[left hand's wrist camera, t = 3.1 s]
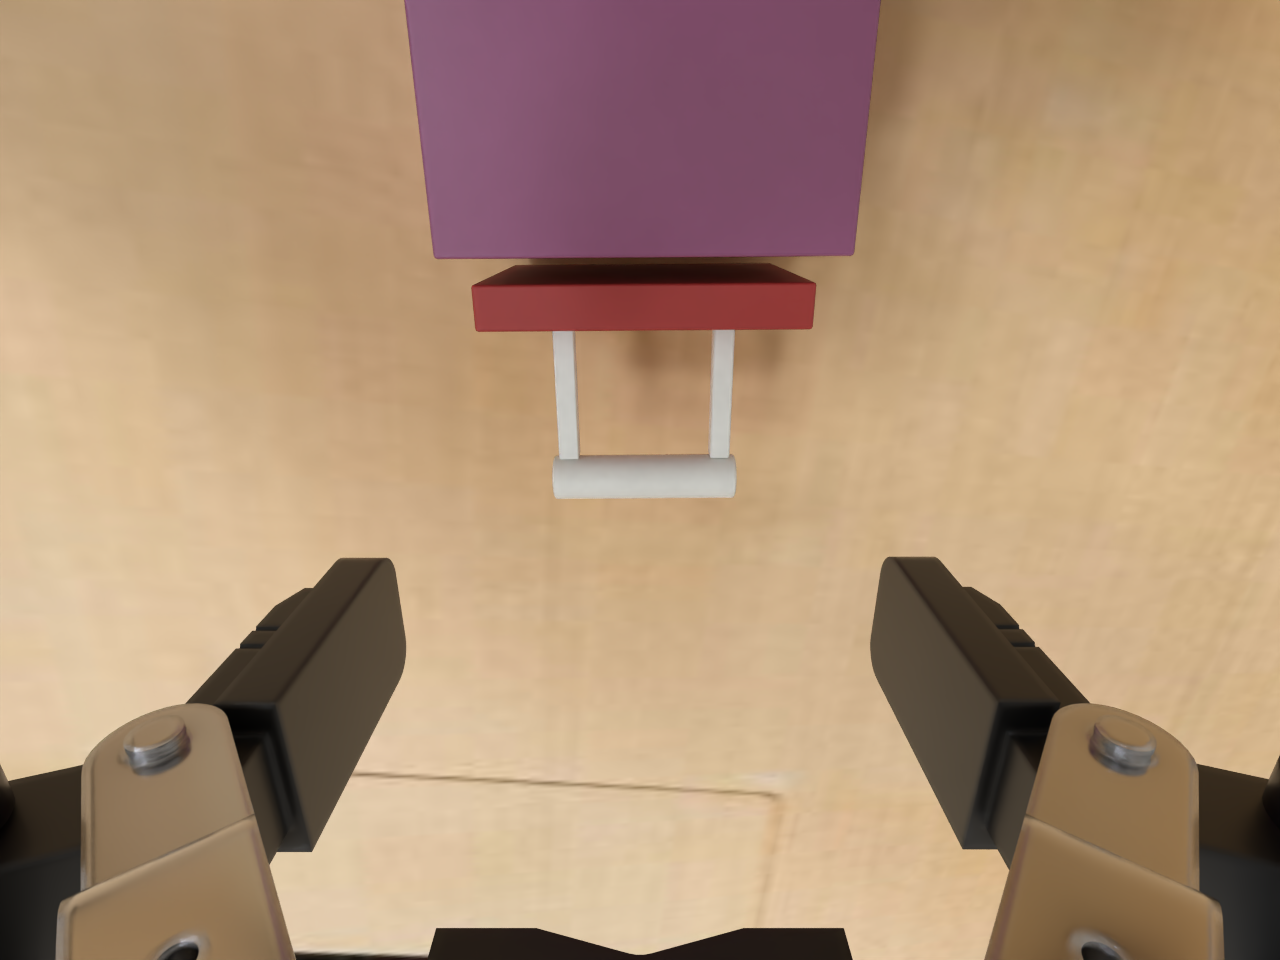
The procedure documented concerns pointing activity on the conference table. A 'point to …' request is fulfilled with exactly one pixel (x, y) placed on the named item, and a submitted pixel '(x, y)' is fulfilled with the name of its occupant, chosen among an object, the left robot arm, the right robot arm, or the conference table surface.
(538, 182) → the cabinet
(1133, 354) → the conference table surface
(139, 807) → the left robot arm
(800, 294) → the drawer
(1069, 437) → the conference table surface
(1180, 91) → the conference table surface
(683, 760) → the conference table surface
